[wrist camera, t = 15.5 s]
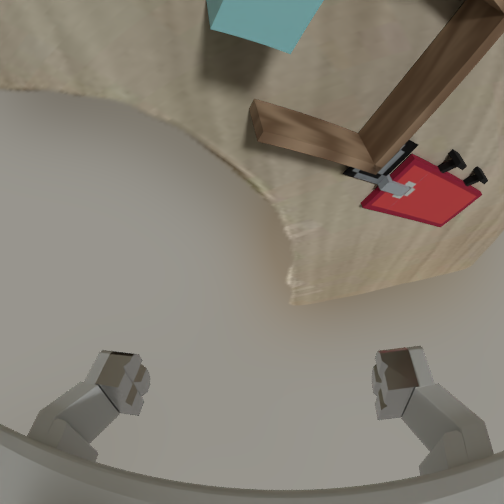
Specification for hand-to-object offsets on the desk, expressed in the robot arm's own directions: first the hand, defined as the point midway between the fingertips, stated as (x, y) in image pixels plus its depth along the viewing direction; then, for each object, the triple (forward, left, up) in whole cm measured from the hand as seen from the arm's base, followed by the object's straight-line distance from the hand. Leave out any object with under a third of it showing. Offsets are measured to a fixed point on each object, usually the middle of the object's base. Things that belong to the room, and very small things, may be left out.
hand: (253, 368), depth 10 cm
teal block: (+1, +6, -24) cm, 25 cm away
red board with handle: (+36, -8, -25) cm, 44 cm away
